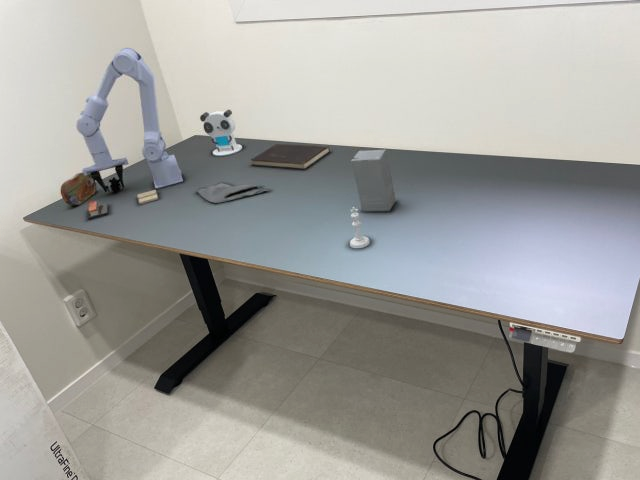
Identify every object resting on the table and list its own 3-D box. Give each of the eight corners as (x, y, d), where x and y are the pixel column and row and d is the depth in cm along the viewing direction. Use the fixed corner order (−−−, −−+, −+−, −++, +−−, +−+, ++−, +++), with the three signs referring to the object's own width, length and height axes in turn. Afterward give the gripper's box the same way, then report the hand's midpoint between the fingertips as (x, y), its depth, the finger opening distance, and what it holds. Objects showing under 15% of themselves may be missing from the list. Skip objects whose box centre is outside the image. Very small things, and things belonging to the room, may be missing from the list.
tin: (73, 209, 190) (63, 186, 185) (66, 209, 191) (55, 186, 186) (100, 190, 202) (90, 167, 198) (92, 190, 203) (83, 168, 198)
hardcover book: (305, 169, 190) (303, 163, 189) (252, 165, 201) (250, 159, 200) (330, 152, 201) (328, 145, 200) (279, 149, 212) (277, 143, 211)
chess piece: (349, 240, 144) (343, 204, 138) (368, 237, 144) (362, 201, 138) (350, 249, 139) (343, 213, 134) (370, 246, 139) (364, 210, 134)
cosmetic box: (396, 201, 159) (389, 147, 150) (388, 213, 153) (380, 158, 145) (368, 201, 162) (359, 148, 153) (359, 212, 156) (350, 158, 148)
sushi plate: (108, 205, 188) (104, 198, 186) (108, 214, 181) (104, 206, 180) (89, 211, 186) (85, 203, 185) (88, 220, 180) (85, 212, 178)
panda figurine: (206, 157, 216) (194, 118, 208) (218, 146, 226) (207, 108, 218) (235, 154, 214) (224, 115, 206) (246, 143, 223) (235, 105, 215)
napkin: (156, 193, 191) (155, 189, 191) (158, 199, 186) (157, 195, 186) (138, 198, 190) (137, 194, 189) (139, 204, 185) (138, 200, 184)
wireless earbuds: (123, 187, 201) (117, 174, 198) (128, 188, 200) (122, 174, 197) (107, 195, 196) (101, 182, 193) (112, 196, 195) (106, 182, 192)
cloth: (184, 199, 183) (181, 193, 182) (213, 182, 192) (211, 176, 191) (244, 207, 170) (242, 201, 169) (272, 188, 180) (271, 182, 179)
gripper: (121, 142, 195) (135, 179, 202) (77, 153, 191) (93, 190, 198) (121, 148, 189) (136, 185, 196) (76, 159, 185) (93, 197, 192)
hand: (114, 188), depth 197 cm, fingers closed on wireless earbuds, 5 cm apart
